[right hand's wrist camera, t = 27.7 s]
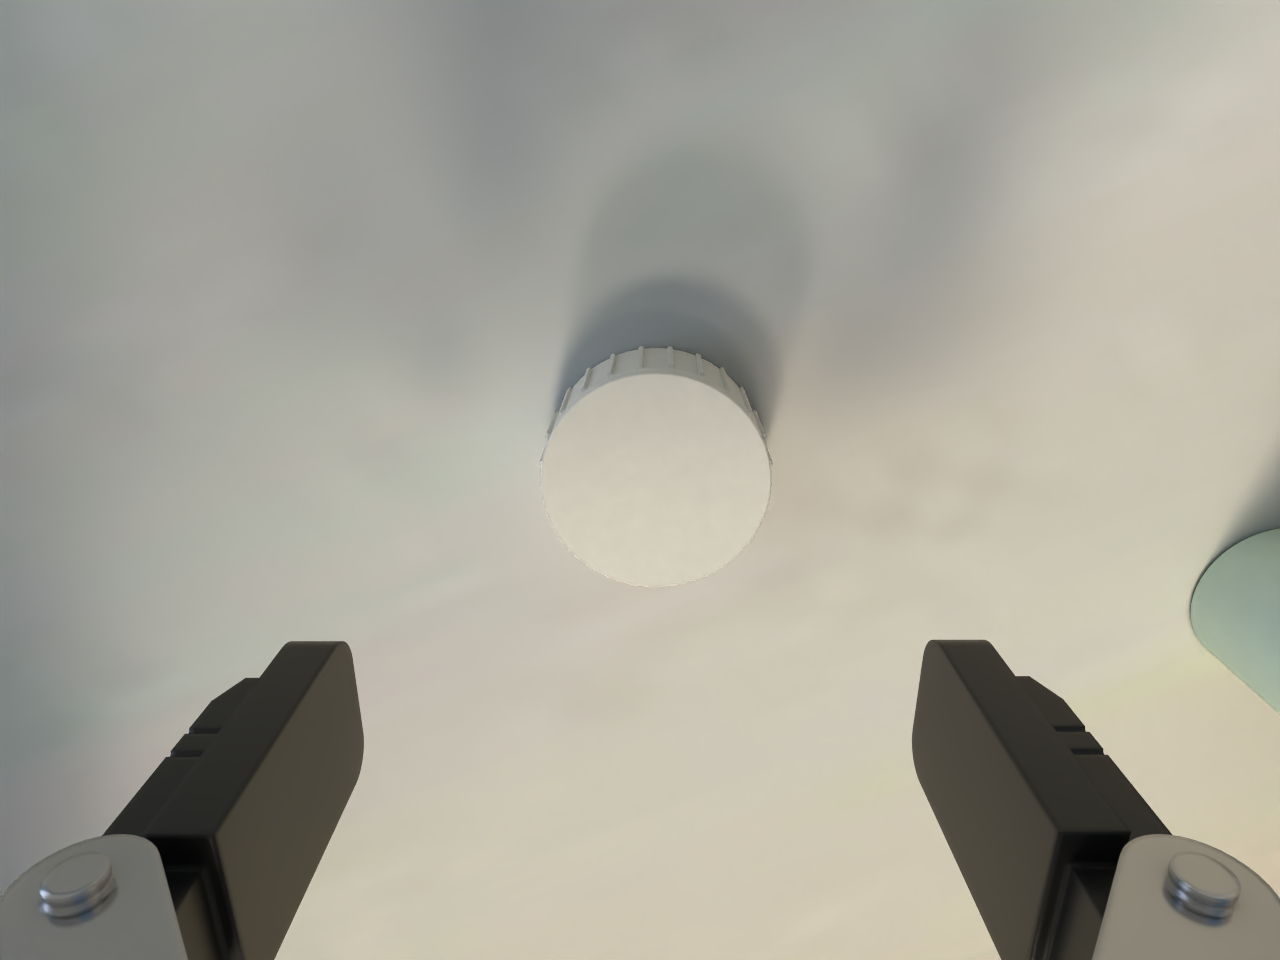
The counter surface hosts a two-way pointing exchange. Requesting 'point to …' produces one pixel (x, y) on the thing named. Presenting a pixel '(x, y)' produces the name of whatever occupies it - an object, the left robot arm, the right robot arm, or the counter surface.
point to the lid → (655, 468)
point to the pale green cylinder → (1244, 613)
